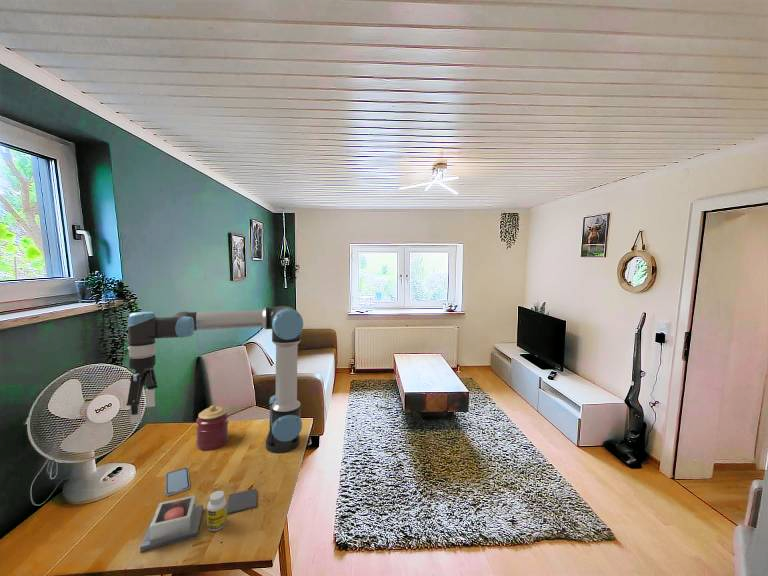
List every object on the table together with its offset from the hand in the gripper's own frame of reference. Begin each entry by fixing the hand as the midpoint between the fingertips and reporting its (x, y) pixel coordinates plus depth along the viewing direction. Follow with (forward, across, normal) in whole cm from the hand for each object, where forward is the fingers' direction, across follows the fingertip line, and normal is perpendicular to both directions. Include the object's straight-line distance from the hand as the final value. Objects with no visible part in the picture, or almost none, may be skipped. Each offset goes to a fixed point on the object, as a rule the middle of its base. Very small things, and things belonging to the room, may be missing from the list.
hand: (143, 414), depth 112 cm
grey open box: (+28, +24, +15) cm, 39 cm away
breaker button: (+24, +24, +15) cm, 37 cm away
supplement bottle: (+28, +26, +27) cm, 47 cm away
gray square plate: (+28, +18, +34) cm, 47 cm away
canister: (+28, -27, +18) cm, 43 cm away
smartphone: (+28, -1, +10) cm, 30 cm away
